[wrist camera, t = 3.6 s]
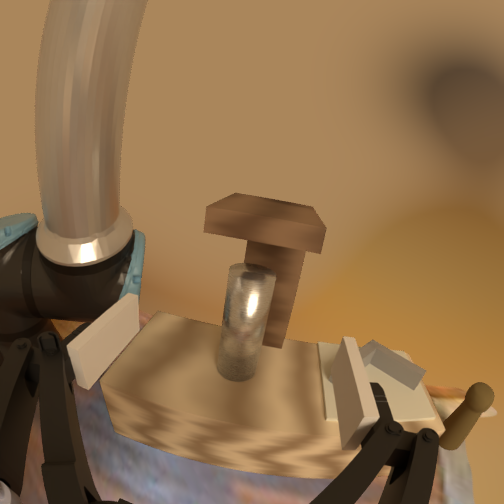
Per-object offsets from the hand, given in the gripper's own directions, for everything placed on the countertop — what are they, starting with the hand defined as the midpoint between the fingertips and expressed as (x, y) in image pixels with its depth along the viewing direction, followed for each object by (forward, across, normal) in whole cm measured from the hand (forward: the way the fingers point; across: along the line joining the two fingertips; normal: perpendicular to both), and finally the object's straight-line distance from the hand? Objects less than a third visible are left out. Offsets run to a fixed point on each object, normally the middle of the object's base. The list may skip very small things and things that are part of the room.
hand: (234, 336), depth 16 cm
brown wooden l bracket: (+12, 0, -11) cm, 17 cm away
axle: (+10, 0, -12) cm, 15 cm away
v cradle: (+10, +17, -12) cm, 23 cm away
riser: (+10, +6, -22) cm, 25 cm away
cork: (+8, +36, -22) cm, 43 cm away
